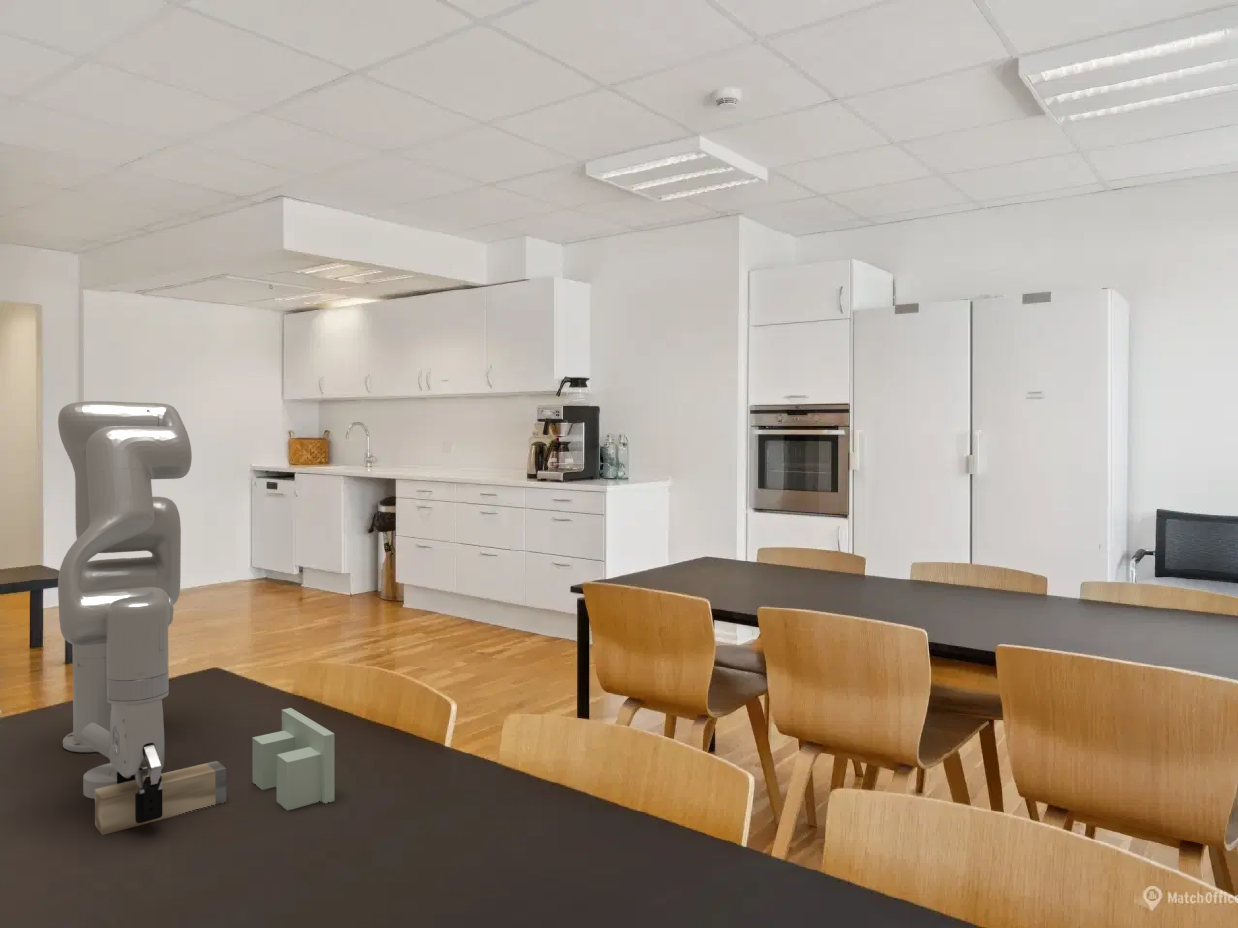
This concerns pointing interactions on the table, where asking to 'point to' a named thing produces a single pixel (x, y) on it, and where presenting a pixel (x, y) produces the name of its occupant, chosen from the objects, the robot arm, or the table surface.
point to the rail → (178, 796)
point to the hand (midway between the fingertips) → (139, 808)
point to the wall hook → (104, 773)
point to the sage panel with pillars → (296, 761)
